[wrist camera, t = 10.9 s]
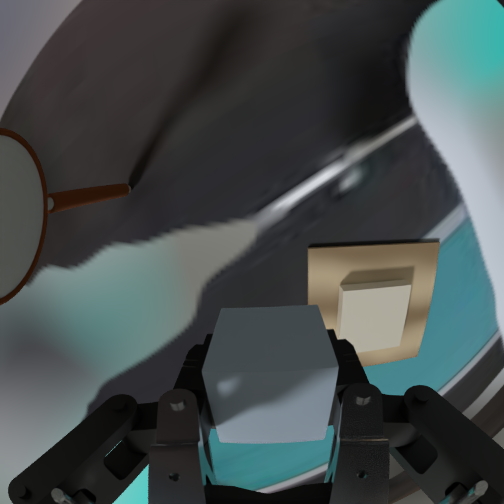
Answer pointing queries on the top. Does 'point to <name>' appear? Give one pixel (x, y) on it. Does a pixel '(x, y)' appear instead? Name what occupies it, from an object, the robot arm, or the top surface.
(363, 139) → the top surface
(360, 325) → the tile
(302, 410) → the block
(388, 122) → the top surface
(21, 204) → the magnifying glass
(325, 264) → the cork mat
